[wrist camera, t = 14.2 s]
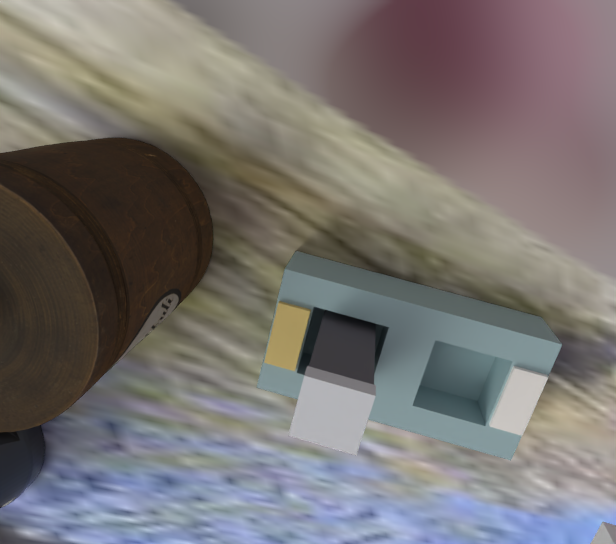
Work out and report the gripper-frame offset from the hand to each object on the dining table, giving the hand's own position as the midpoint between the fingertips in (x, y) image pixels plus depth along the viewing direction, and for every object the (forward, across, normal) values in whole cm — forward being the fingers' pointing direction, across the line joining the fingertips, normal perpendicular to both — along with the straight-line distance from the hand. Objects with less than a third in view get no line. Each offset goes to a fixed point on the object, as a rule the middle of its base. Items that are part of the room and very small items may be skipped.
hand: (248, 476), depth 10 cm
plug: (+30, -2, +10) cm, 32 cm away
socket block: (+32, -7, +10) cm, 34 cm away
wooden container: (+32, +17, +7) cm, 37 cm away
